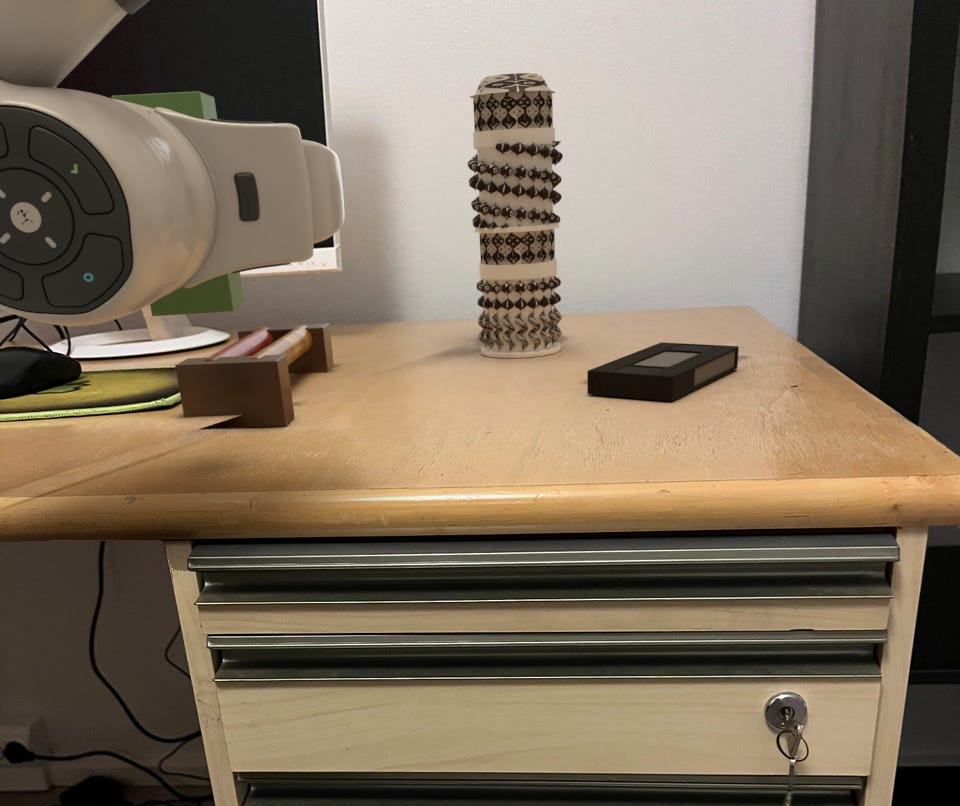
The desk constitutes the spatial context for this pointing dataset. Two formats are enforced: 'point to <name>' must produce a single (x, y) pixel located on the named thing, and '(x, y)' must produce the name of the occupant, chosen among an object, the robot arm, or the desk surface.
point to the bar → (216, 291)
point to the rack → (254, 375)
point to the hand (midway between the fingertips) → (184, 195)
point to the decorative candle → (516, 215)
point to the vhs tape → (663, 371)
